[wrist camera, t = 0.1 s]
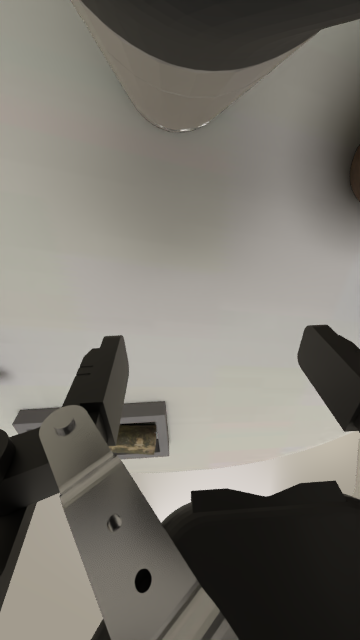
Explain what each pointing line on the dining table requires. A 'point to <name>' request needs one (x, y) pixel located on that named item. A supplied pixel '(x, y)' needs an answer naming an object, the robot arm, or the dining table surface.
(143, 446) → the rough wooden branch
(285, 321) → the dining table surface
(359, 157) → the plant pot
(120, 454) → the gray rectangular tray
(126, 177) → the dining table surface
